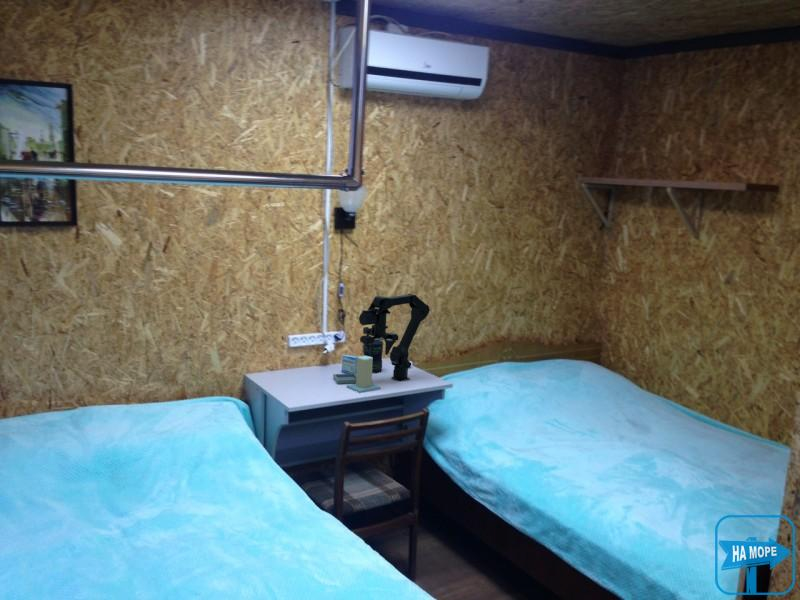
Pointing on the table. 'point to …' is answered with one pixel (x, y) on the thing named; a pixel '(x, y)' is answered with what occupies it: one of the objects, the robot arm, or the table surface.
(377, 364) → the storage jar
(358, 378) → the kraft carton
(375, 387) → the slate board
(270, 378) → the table surface
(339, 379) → the charcoal tray
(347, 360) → the medicine box
